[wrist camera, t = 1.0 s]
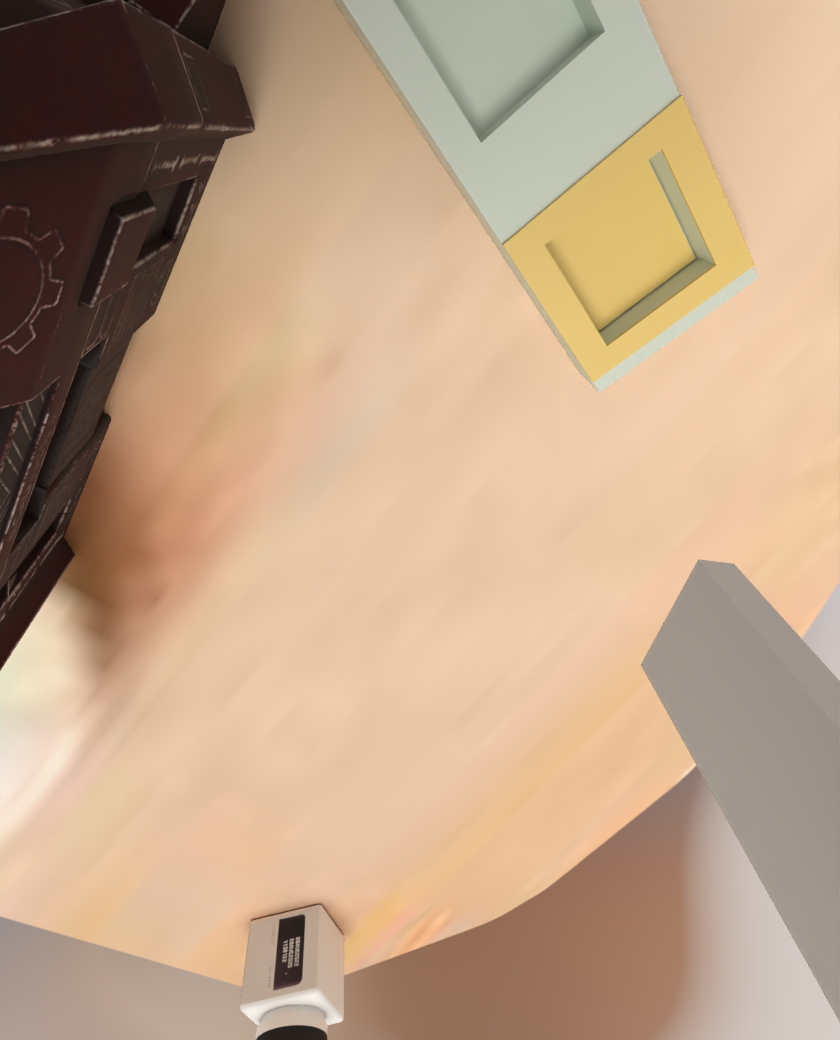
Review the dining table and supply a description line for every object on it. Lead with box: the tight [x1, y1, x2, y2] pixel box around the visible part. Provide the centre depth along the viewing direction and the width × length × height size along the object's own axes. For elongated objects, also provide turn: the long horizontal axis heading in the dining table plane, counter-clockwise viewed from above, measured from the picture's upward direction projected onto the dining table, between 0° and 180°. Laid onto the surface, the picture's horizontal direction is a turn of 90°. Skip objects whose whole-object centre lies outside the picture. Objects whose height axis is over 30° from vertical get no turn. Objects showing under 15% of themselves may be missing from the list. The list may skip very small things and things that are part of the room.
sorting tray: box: [334, 0, 758, 392], centre depth 24 cm, size 32×9×3 cm, turn 38°
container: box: [240, 905, 344, 1040], centre depth 59 cm, size 8×8×13 cm
